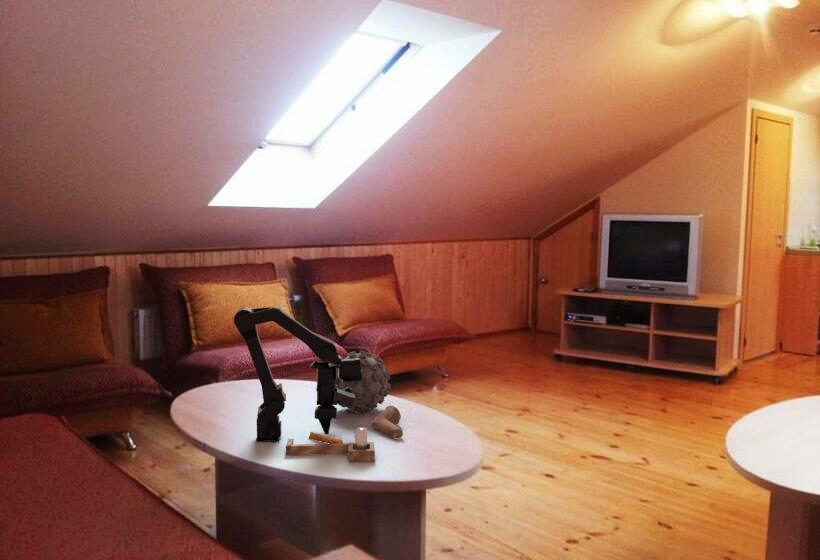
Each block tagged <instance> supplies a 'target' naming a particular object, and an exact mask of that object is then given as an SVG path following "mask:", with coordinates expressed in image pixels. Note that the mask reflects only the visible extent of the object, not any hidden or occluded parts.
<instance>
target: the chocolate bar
mask: <svg viewBox="0 0 820 560" xmlns="http://www.w3.org/2000/svg"><path fill="white" fill-rule="evenodd" d="M308 438H309V439H308V440H311V439H313V440H312V441H315V440H316V442H319V441H321V442H320V443H322V442H326V443H329V444H339V443H344V442H343V440H342V439H340V438H335V437H332V436H328V435H326V434H320V433H316V432H313V431H310V433H309V435H308ZM326 443H325V444H326Z"/></svg>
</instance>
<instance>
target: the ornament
mask: <svg viewBox="0 0 820 560" xmlns="http://www.w3.org/2000/svg"><path fill="white" fill-rule="evenodd" d="M355 358H360V363H361V371H362V380H361V381H354V382H342V380H341V378H340V379H339V378H338V368H336V385H337V389H340V390H344V389H345V388H346V387H349V388H351V390H352V394H353V393H354V394H355V396H356V398H355V401H354V404H353V406H352V408H349V407H347V406H345V405H342V404H340V403H338V404H337V406H340V407H342V408H344V409H345V408H347V409H348V411H349V412H351V413H352V412H353V413H354V414H361V411H363V413H368V412H371V411H372V410H374V409H376V408H378V404H379V405H382V404H383V403H384V402H385V398H387V397H388V394H389V390H390V389H391V383H389V381H390V379H391V376H390V375H391V374H390V373H389V370H388V367H387V366H385V365H384V361H383V360H382V359H381V358H380V357H379V356H377V355H375V356H372V353H371V352H368V351H365V350H359V352H358V353H357V352H356V351H354V350H353V351H351V352H349V353H348V354H345V355H344V356H342V359H355Z"/></svg>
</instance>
